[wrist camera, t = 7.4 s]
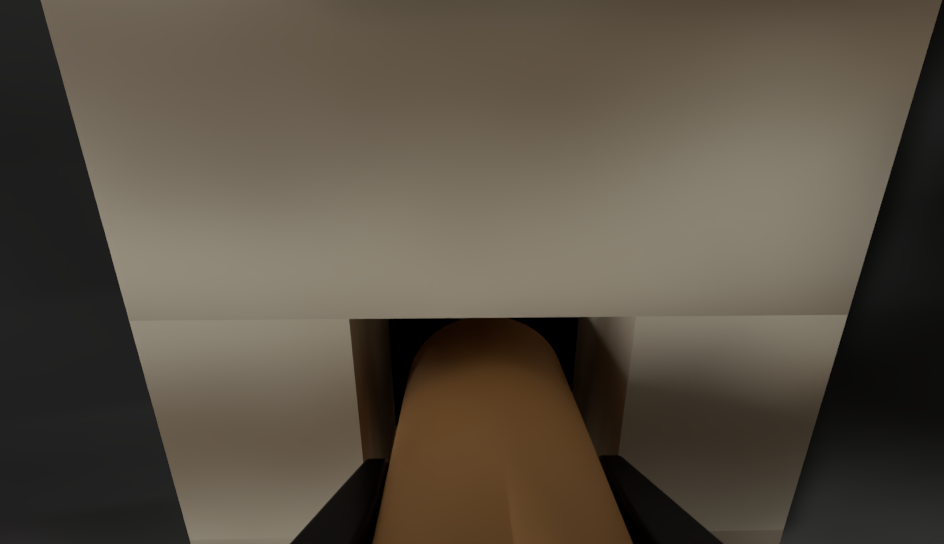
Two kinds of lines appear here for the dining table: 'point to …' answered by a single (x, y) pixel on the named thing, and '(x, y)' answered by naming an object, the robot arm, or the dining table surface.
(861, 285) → the dining table surface
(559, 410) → the peg
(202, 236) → the socket block
